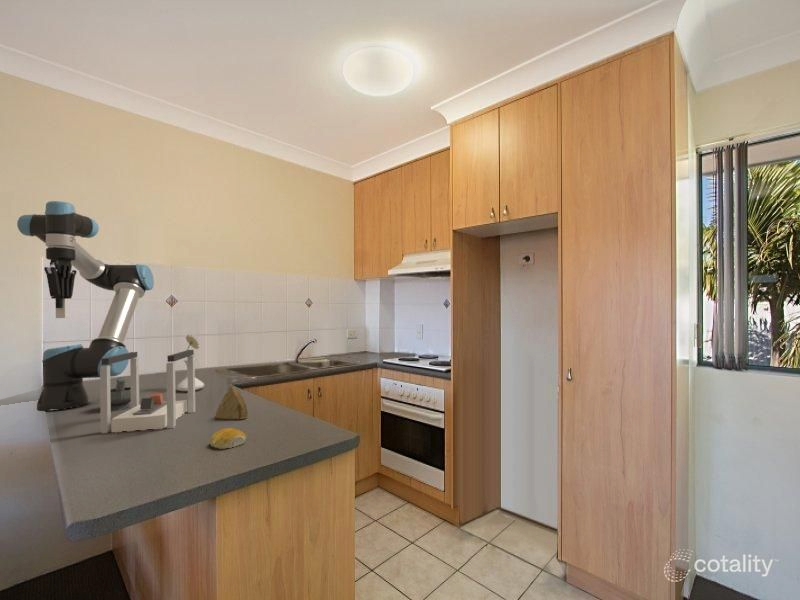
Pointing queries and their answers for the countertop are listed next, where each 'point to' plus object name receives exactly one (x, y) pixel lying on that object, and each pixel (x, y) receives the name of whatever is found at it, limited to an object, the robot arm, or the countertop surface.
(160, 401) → the terracotta block
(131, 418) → the white grey open frame
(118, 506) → the countertop surface
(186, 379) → the flower in vase
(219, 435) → the bread roll
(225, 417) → the rock
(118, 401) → the mortar and pestle
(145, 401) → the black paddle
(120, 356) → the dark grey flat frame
